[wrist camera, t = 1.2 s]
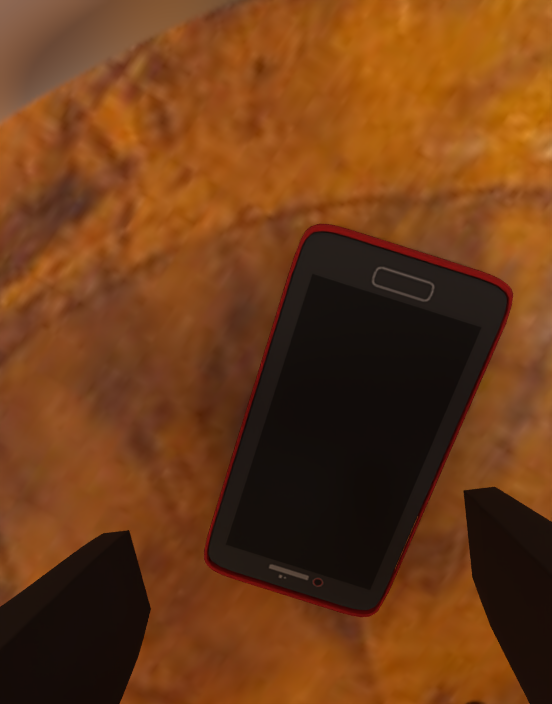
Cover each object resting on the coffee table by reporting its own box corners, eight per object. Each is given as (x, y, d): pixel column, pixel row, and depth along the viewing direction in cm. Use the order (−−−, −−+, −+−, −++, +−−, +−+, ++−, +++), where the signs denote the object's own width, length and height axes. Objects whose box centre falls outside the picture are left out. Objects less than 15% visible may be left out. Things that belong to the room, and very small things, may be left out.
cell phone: (513, 281, 17) (524, 284, 16) (372, 607, 21) (375, 625, 20) (306, 216, 17) (306, 215, 16) (201, 554, 21) (196, 569, 20)
